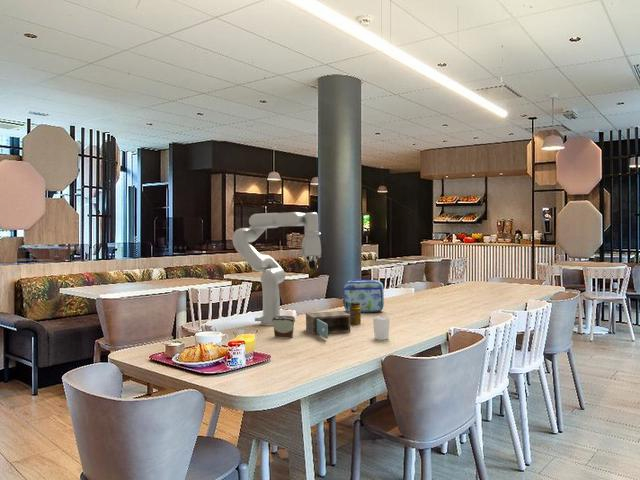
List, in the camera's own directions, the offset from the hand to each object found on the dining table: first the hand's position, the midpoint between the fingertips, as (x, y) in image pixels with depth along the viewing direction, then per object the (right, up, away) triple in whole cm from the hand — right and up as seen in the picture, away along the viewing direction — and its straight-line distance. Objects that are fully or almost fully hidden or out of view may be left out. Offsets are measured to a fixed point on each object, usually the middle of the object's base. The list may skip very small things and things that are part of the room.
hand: (311, 268), depth 287 cm
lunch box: (+33, -31, +50) cm, 67 cm away
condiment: (+24, -32, +7) cm, 40 cm away
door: (+5, -32, -30) cm, 44 cm away
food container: (-13, -33, -25) cm, 43 cm away
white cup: (+34, -33, -33) cm, 58 cm away
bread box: (+9, -32, -13) cm, 36 cm away
